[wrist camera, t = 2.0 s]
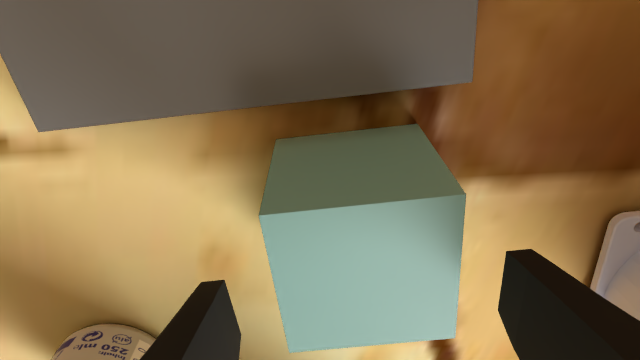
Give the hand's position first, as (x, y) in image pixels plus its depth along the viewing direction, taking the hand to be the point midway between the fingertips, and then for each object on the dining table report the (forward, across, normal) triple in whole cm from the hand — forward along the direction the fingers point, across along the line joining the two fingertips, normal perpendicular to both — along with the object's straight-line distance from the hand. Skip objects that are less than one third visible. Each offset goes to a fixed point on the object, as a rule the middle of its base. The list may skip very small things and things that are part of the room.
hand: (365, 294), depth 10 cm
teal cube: (+5, 0, 0) cm, 5 cm away
